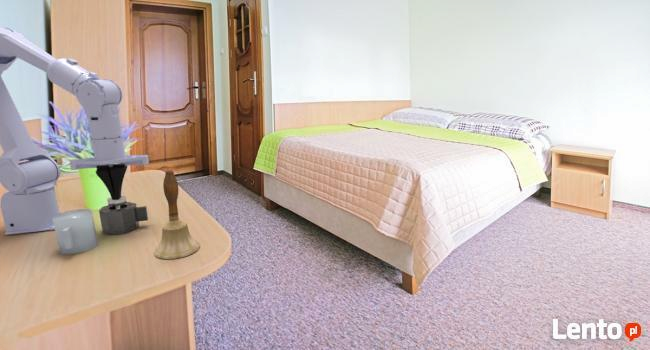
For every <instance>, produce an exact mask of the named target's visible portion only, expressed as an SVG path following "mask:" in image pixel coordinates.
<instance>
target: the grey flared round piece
mask: <svg viewBox="0 0 650 350" xmlns="http://www.w3.org/2000/svg"><path fill="white" fill-rule="evenodd" d="M126 202H128V201H127V196H125V195H121V198H120V199H116V200H112V198H111V197H108V198H107V205H109V206H116V209H120V205H122V204H125V203H126Z"/></svg>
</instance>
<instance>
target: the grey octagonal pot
mask: <svg viewBox="0 0 650 350" xmlns="http://www.w3.org/2000/svg"><path fill="white" fill-rule="evenodd" d="M98 213H99V214H98V215H99V218H100V226H101V230H102V231H101V232H102V234H105V235H108V236H109V235H110V236H115V235H122V234H123V235H124V234H128V233H130V232H133V231H135V230H137V229H138V228H139V226H140V222H144V221H145V222H147V221H148V220H149V216H148V209H147V205H144V206H137V203H136V202H131V201H127V202H126V203H125V204H122V205H120V209H116V206H109V205H108V204H107V205H103V206H101V208H100V209H99V210H98Z"/></svg>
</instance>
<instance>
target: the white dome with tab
mask: <svg viewBox="0 0 650 350" xmlns="http://www.w3.org/2000/svg"><path fill="white" fill-rule="evenodd" d="M52 219H53V223H54V228H55V229H54V232H55V233H54V234H55V237H56V240H57V246H58V251H59V253H60V254H61V255H67V256H68V255H77V254H80V253H85V252H88V251H90V250H93V249H94V248H96V247H97V246H98V245H99V242H98V237H97V230H96V224H95V219H94V214H93V210H92V209H87V208H80V209H73V210H67V211H63V212H60V214H57V215H55V216H54V217H53V218H52Z"/></svg>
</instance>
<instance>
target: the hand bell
mask: <svg viewBox="0 0 650 350" xmlns="http://www.w3.org/2000/svg"><path fill="white" fill-rule="evenodd" d="M162 188H163V193H164V196H165V198H166V202H167V204H168V206H167V207H168V221H167V222H165V223H164V224H163V225H162V227H161V239H160V243H158V245H157V247H156V248H155V250H154V256H155V257H156V258H157V259H161V260H162V259H163V260H175V259H176V260H177V259H181V258H185V257H188V256H191V255H192V254H194V253H196V252H198V251H199V249H200V247H201V245H200V242H198V241H197V240H196V239H194V237H192V235H191V233H190V231H189V228H188V227H189V226H188V223H187V222H186V221H184V220H181V219H180V218H179V210H178V209H179V208H178V197H179V183H178V180H177V178H176V175H175V173H174V170H170V169H169V170H165V175H164V178H163V187H162Z"/></svg>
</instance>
